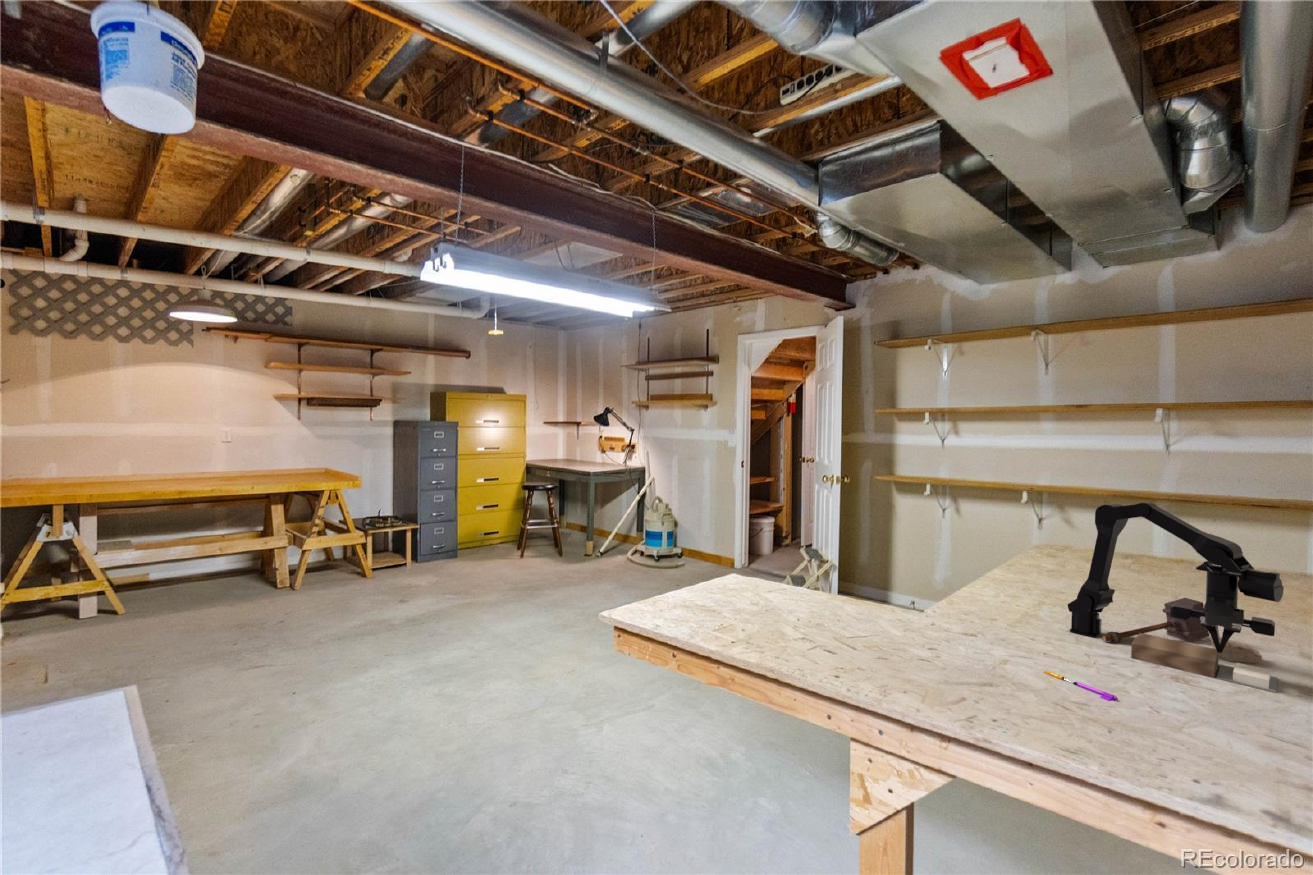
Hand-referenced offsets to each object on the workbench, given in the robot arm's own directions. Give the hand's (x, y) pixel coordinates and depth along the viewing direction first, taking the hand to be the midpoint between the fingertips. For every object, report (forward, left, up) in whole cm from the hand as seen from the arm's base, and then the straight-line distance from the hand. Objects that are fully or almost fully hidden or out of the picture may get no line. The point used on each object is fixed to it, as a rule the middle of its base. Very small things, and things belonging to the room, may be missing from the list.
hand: (1219, 652), depth 147 cm
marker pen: (-22, -38, -6) cm, 44 cm away
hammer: (-15, +16, -5) cm, 23 cm away
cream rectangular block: (+6, -1, -3) cm, 6 cm away
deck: (-9, 0, -5) cm, 10 cm away
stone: (+1, +17, -6) cm, 17 cm away
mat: (+5, 0, -5) cm, 7 cm away
